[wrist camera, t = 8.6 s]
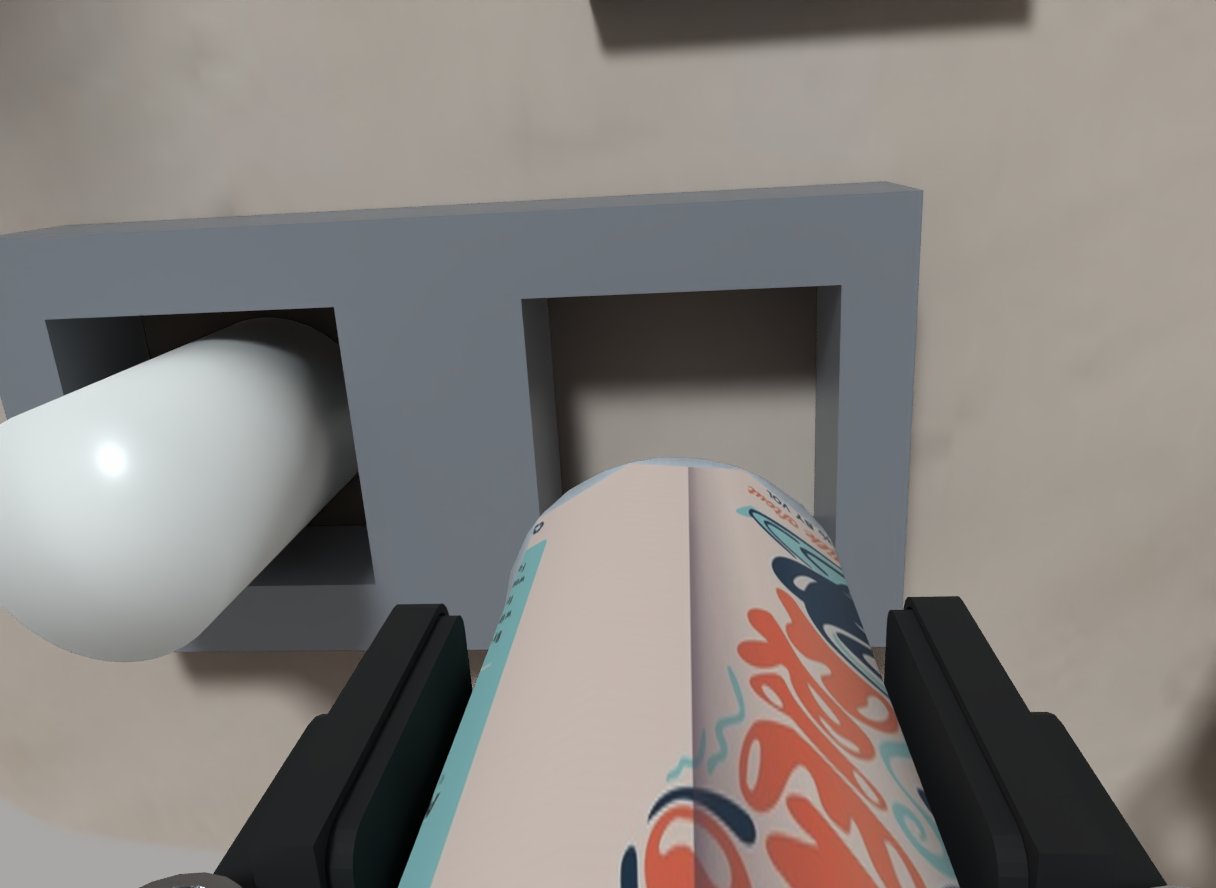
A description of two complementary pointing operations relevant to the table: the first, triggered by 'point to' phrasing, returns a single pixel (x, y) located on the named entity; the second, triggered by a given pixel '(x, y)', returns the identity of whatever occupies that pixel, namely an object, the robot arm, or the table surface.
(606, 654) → the beer can
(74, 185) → the table surface
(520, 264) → the two-slot holder block
